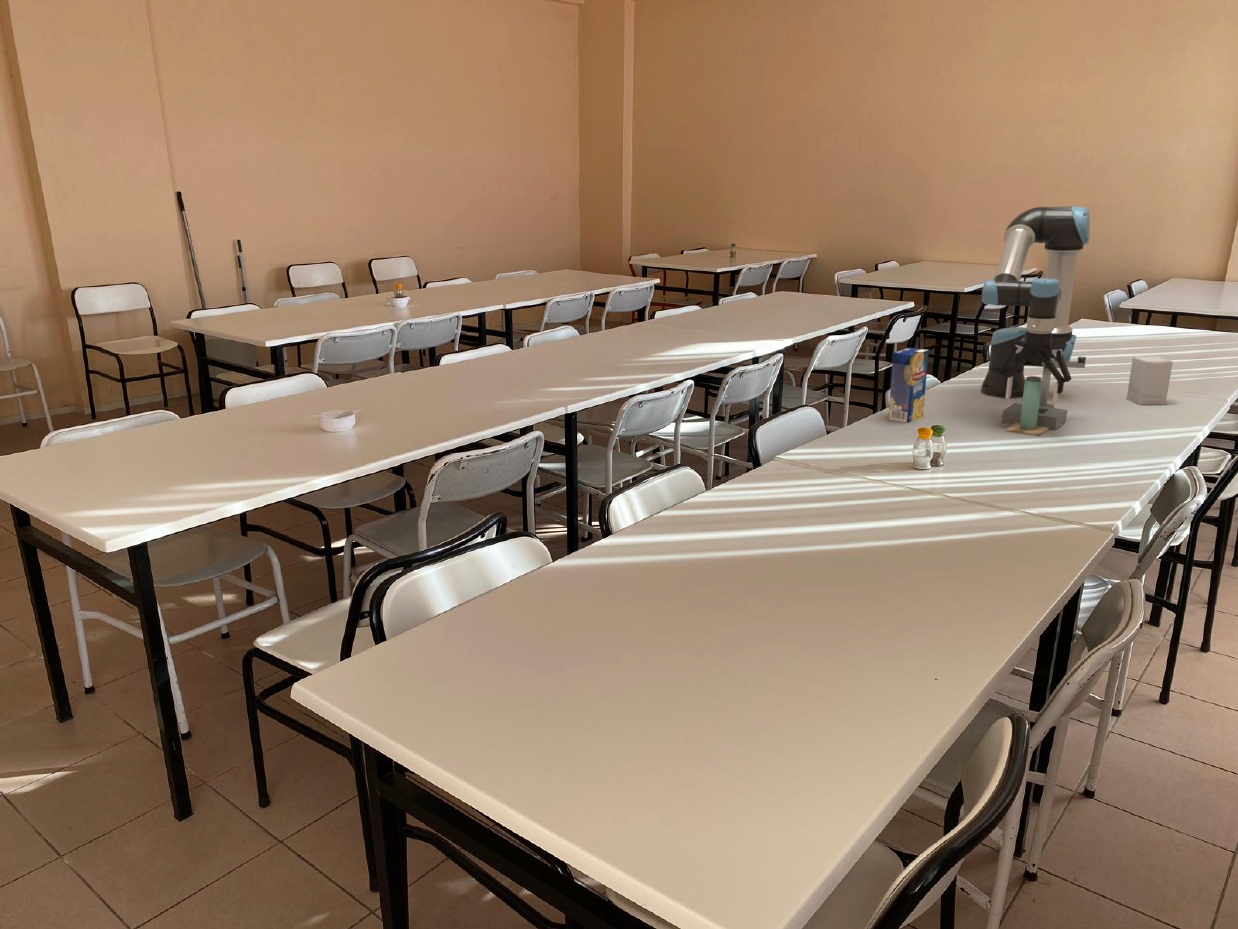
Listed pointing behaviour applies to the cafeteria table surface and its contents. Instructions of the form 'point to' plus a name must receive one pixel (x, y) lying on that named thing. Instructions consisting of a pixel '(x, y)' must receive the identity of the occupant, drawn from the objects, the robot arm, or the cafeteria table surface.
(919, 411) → the blue food box
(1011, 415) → the socket block
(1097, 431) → the cafeteria table surface
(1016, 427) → the cork mat
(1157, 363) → the supplement box
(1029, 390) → the plug
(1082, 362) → the clip
